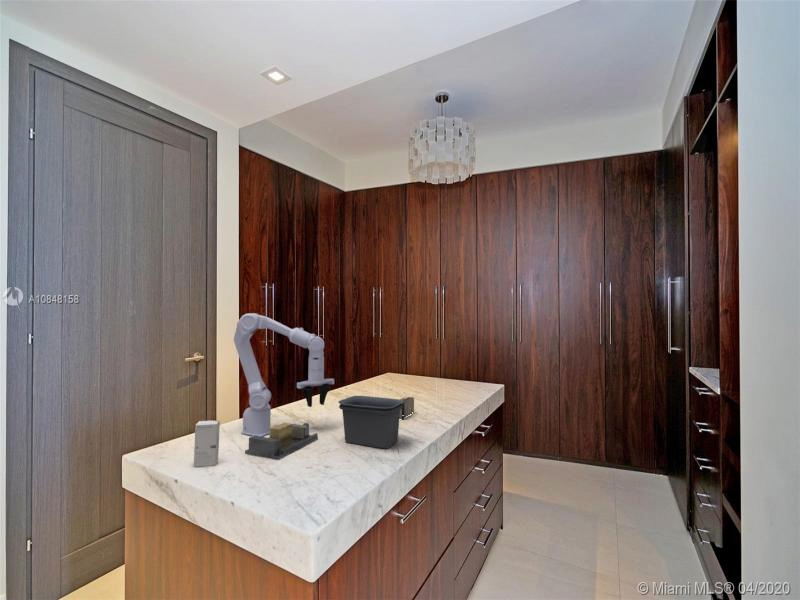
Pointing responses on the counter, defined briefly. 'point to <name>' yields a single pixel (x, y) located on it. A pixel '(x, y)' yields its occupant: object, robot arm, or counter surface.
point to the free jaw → (300, 431)
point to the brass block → (282, 433)
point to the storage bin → (371, 420)
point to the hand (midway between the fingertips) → (315, 405)
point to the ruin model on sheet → (407, 406)
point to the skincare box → (206, 443)
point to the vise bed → (276, 446)
